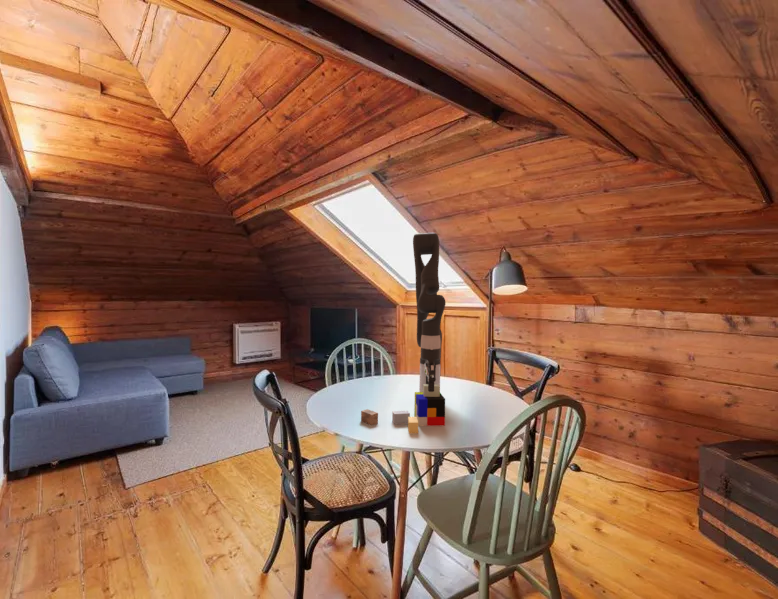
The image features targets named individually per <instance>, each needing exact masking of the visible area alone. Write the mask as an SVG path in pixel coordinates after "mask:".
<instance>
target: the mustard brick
mask: <svg viewBox="0 0 778 599" xmlns="http://www.w3.org/2000/svg"><path fill="white" fill-rule="evenodd" d="M407 429H408V434H419V426H418V420H417V417H414V416H410V417H408V424H407Z"/></svg>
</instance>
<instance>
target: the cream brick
mask: <svg viewBox="0 0 778 599" xmlns="http://www.w3.org/2000/svg"><path fill="white" fill-rule="evenodd" d="M440 393H441V385H440V386H439V384H434V392H429V391H428V384H423V396H424V397H440Z"/></svg>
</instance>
